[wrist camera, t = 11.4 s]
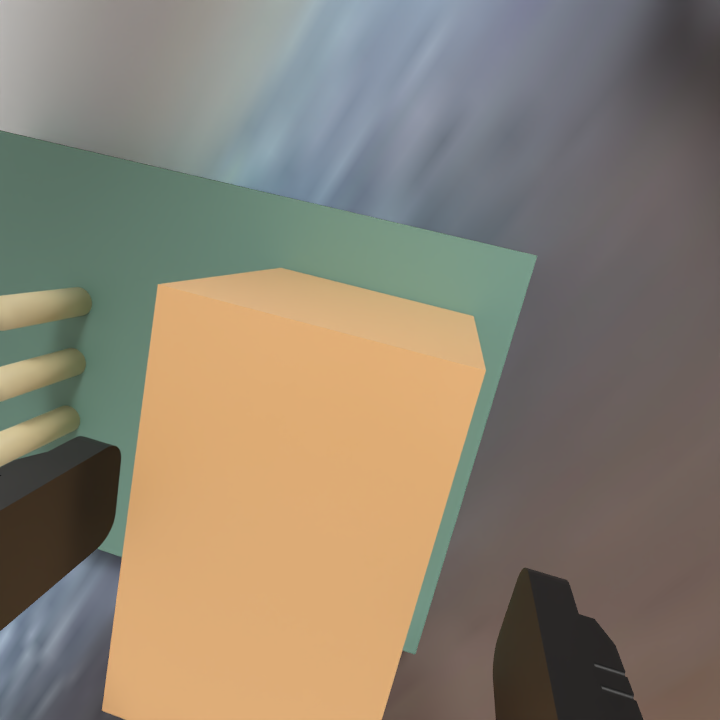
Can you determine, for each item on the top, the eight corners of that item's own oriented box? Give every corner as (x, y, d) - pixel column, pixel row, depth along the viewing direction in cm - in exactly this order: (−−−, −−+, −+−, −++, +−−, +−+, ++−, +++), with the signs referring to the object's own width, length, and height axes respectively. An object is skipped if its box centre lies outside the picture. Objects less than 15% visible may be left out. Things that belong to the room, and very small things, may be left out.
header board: (527, 254, 16) (558, 259, 11) (419, 613, 19) (406, 737, 14) (25, 136, 18) (-133, 98, 13) (3, 479, 21) (-130, 548, 16)
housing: (473, 316, 15) (485, 370, 8) (393, 596, 17) (355, 805, 11) (280, 268, 15) (157, 283, 9) (229, 543, 17) (101, 710, 11)
